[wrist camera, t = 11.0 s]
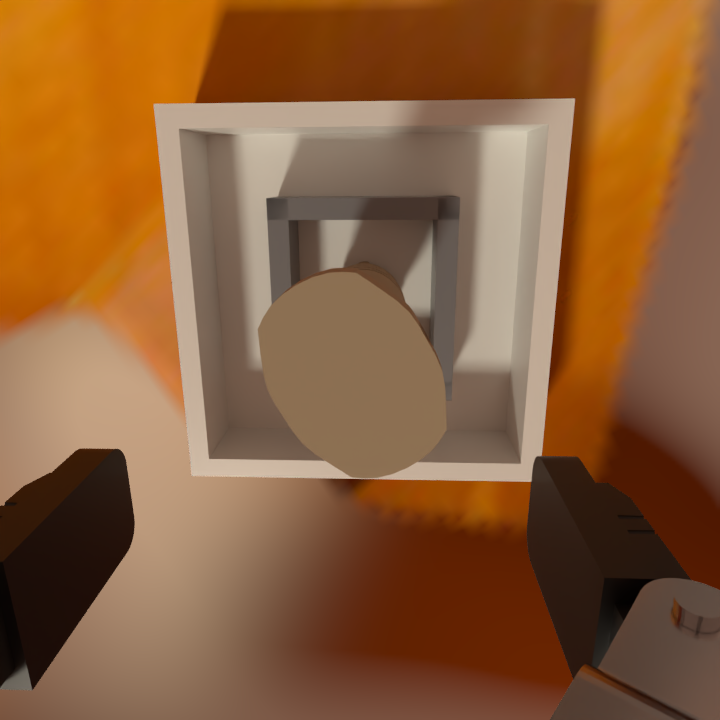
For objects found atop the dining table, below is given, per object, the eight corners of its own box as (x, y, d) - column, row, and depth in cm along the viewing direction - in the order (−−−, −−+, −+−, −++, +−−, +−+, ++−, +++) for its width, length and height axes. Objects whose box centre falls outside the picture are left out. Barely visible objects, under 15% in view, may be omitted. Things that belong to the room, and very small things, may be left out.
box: (190, 115, 30) (153, 103, 25) (544, 111, 29) (575, 98, 25) (218, 435, 35) (191, 475, 31) (518, 440, 35) (539, 481, 30)
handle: (375, 214, 30) (371, 241, 16) (434, 320, 32) (478, 432, 17) (296, 261, 31) (224, 326, 17) (357, 362, 33) (338, 502, 18)
